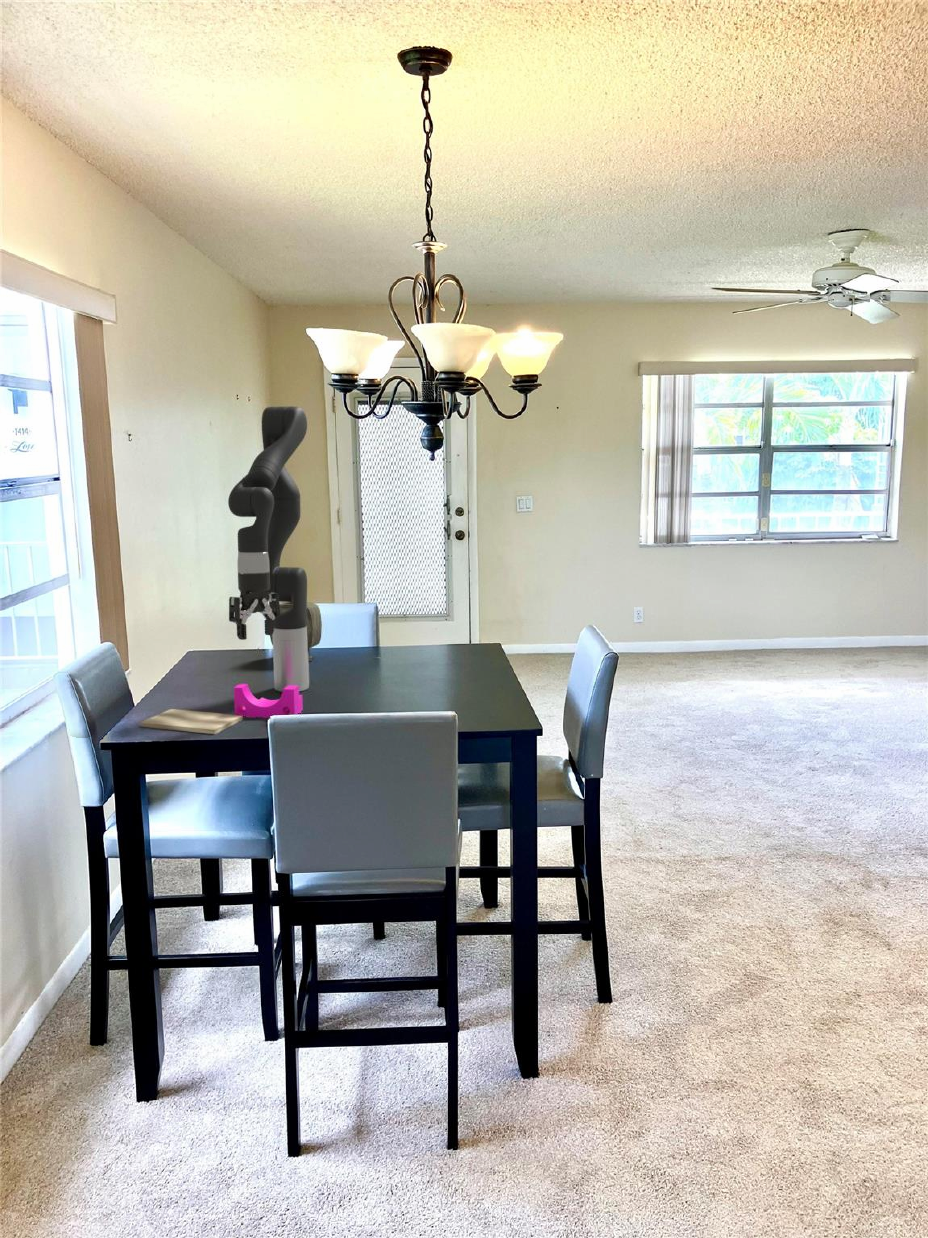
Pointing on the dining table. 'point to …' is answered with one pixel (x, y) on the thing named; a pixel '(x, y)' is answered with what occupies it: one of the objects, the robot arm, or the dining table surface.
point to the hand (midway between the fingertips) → (255, 637)
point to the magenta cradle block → (267, 703)
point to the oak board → (192, 721)
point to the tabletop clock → (308, 624)
